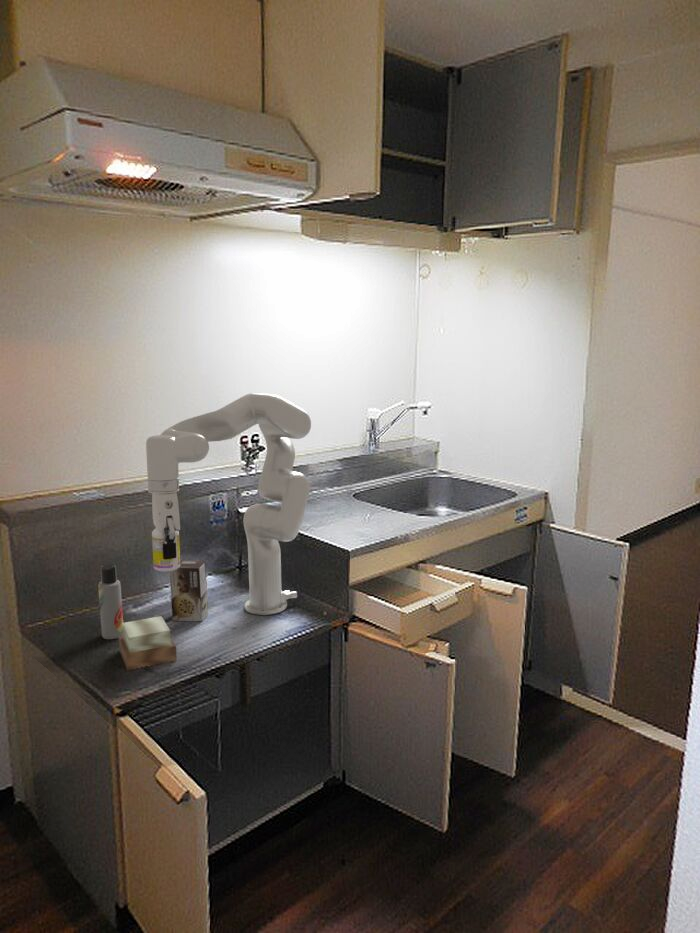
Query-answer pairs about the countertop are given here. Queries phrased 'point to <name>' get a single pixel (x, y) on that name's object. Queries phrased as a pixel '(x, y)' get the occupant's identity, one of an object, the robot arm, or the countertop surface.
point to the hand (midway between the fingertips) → (166, 553)
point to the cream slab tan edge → (146, 643)
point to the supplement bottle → (157, 546)
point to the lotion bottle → (110, 603)
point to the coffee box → (189, 591)
